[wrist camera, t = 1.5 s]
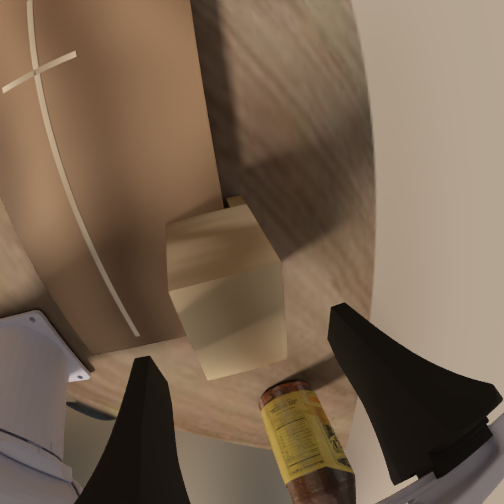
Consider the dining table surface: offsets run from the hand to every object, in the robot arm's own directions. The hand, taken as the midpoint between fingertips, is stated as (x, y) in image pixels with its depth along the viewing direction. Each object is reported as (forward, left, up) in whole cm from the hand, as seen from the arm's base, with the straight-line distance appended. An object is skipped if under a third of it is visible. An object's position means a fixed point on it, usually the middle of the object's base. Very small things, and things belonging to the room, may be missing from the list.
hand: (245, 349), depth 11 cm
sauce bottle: (+3, -20, -8) cm, 22 cm away
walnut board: (-5, +6, -7) cm, 11 cm away
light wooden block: (0, 0, -7) cm, 7 cm away
